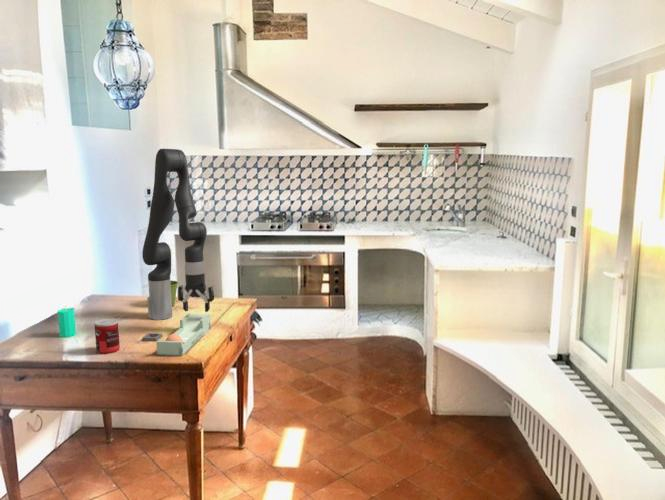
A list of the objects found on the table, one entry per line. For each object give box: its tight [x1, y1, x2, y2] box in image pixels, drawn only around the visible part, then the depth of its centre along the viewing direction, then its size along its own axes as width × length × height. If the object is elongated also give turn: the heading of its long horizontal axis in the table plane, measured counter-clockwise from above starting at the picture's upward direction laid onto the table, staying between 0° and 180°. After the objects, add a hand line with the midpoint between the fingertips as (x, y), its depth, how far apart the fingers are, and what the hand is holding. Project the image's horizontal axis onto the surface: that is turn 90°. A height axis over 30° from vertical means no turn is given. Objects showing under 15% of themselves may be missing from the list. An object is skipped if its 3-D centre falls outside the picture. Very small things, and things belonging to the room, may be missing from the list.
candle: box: [57, 306, 77, 339], centre depth 208 cm, size 6×6×12 cm
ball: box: [165, 333, 182, 341], centre depth 191 cm, size 6×6×6 cm
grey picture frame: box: [142, 332, 163, 342], centre depth 205 cm, size 6×6×1 cm
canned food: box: [94, 318, 121, 355], centre depth 191 cm, size 8×8×11 cm
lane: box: [155, 313, 211, 357], centre depth 202 cm, size 9×32×6 cm, turn 174°
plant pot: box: [170, 279, 180, 307], centre depth 250 cm, size 12×12×11 cm
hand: (196, 311), depth 213 cm, fingers open, 8 cm apart
